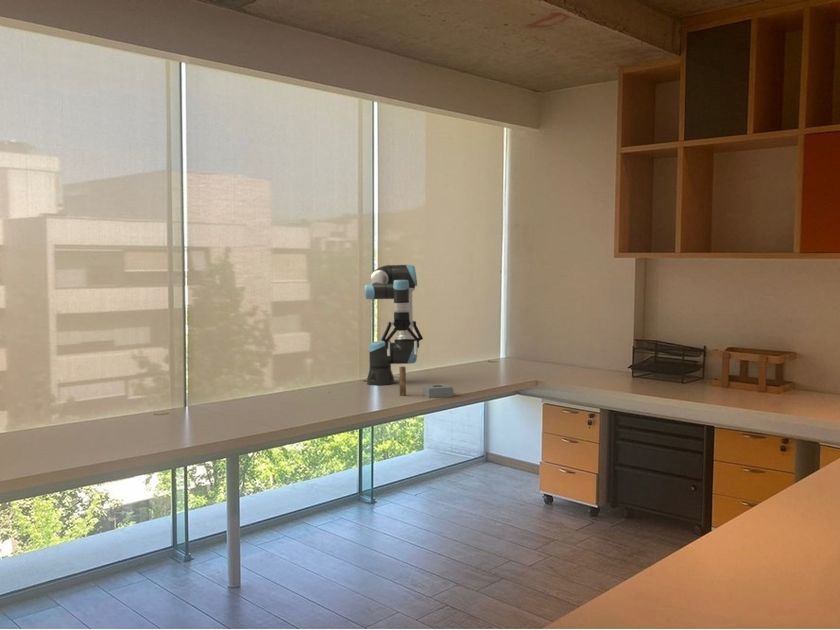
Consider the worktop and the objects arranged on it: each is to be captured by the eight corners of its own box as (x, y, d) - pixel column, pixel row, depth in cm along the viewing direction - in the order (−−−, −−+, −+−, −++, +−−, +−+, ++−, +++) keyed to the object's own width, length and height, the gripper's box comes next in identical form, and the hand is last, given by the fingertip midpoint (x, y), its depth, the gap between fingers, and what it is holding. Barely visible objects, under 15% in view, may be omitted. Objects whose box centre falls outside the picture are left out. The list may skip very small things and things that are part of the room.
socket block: (422, 394, 373) (422, 385, 373) (446, 392, 376) (445, 383, 376) (429, 397, 361) (428, 388, 361) (453, 396, 364) (453, 387, 364)
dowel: (399, 395, 372) (398, 366, 371) (405, 394, 372) (404, 366, 372) (400, 395, 369) (400, 367, 368) (406, 395, 369) (406, 367, 369)
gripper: (377, 312, 361) (378, 356, 363) (428, 311, 368) (429, 354, 369) (374, 312, 369) (375, 355, 370) (424, 310, 375) (425, 353, 376)
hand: (402, 355), depth 369 cm, fingers open, 13 cm apart
